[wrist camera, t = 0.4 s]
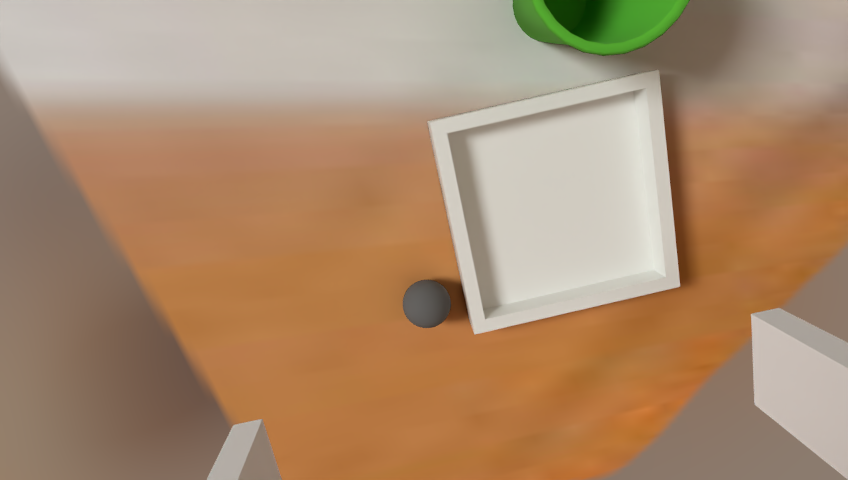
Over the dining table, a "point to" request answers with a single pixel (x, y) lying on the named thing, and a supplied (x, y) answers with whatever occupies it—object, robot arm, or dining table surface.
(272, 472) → the robot arm
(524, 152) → the tray
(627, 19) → the cup
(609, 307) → the dining table surface
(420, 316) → the ball
